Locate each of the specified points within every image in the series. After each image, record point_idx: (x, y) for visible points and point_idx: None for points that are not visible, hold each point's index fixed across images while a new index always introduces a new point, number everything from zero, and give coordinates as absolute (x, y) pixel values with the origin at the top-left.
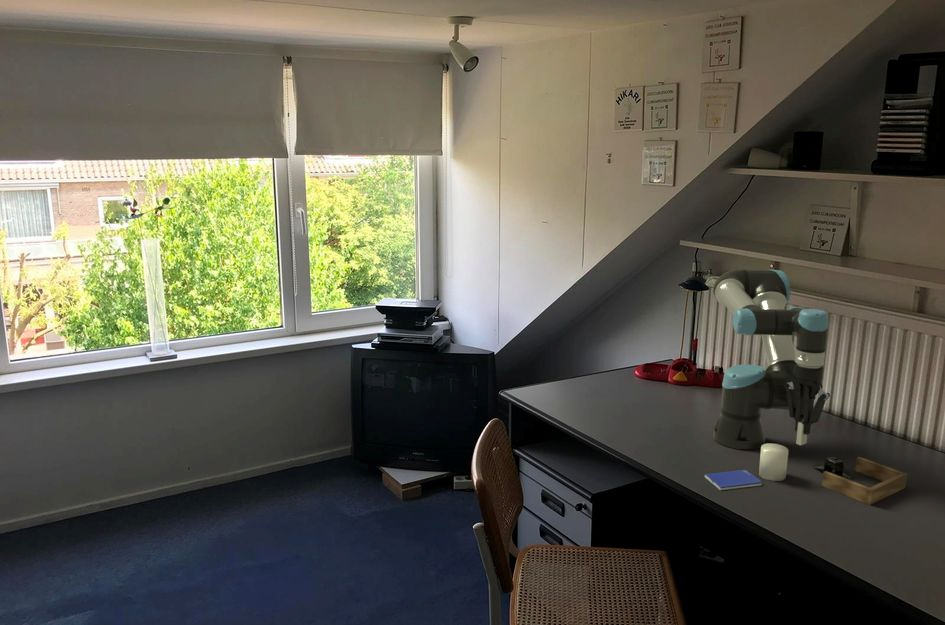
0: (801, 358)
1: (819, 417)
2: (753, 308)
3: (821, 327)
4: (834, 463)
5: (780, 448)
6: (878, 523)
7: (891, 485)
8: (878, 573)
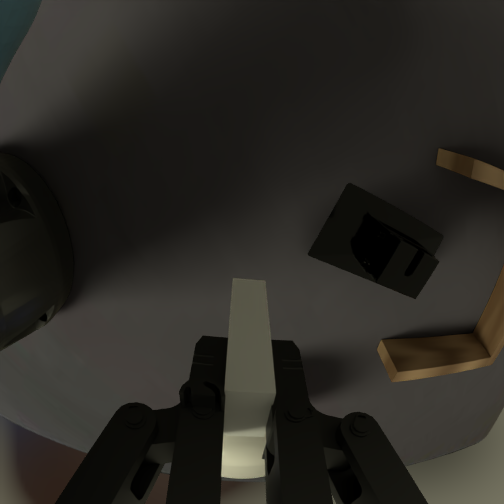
0: None
1: (395, 452)
2: None
3: None
4: (412, 296)
5: (254, 457)
6: (476, 378)
7: None
8: (455, 443)
